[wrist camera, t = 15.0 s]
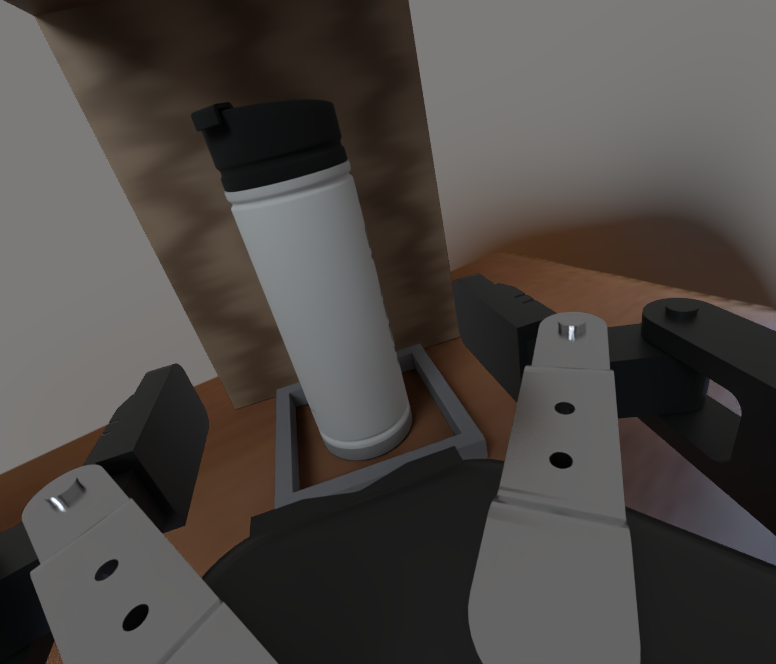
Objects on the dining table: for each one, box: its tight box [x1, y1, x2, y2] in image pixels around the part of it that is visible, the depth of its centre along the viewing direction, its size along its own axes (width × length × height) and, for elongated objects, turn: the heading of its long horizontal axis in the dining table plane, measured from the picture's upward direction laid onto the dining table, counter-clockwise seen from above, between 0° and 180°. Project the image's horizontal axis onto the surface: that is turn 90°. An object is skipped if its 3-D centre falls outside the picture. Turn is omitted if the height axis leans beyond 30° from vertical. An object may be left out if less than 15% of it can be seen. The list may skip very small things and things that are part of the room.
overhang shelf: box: [4, 0, 460, 409], centre depth 23 cm, size 20×16×28 cm
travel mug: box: [191, 99, 412, 461], centre depth 23 cm, size 6×7×20 cm
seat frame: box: [275, 344, 488, 509], centre depth 27 cm, size 12×12×2 cm
